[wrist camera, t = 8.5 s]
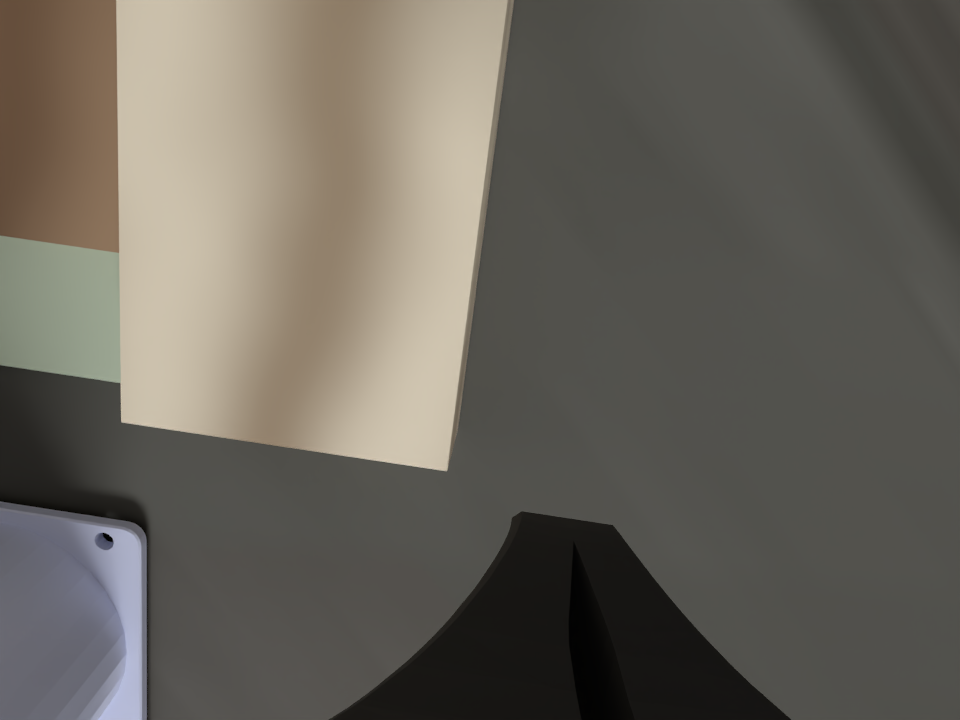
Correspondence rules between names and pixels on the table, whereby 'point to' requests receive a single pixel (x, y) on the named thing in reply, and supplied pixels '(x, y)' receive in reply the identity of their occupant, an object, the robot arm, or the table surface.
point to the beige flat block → (304, 217)
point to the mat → (60, 309)
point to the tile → (59, 122)
